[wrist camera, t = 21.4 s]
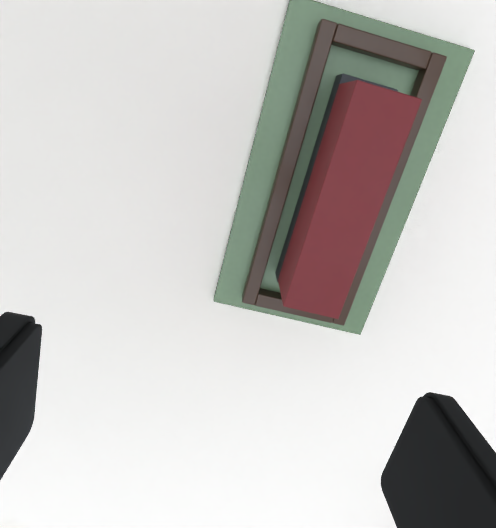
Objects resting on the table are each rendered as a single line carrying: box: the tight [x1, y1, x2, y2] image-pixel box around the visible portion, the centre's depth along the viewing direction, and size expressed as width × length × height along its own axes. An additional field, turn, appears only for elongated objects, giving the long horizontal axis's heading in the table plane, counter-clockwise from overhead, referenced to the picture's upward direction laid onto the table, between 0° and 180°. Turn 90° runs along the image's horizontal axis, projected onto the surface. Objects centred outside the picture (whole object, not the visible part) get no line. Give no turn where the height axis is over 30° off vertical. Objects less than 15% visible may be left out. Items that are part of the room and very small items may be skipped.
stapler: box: [275, 73, 422, 319], centre depth 26 cm, size 14×4×6 cm, turn 165°
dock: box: [214, 0, 474, 335], centre depth 29 cm, size 12×21×2 cm, turn 165°
